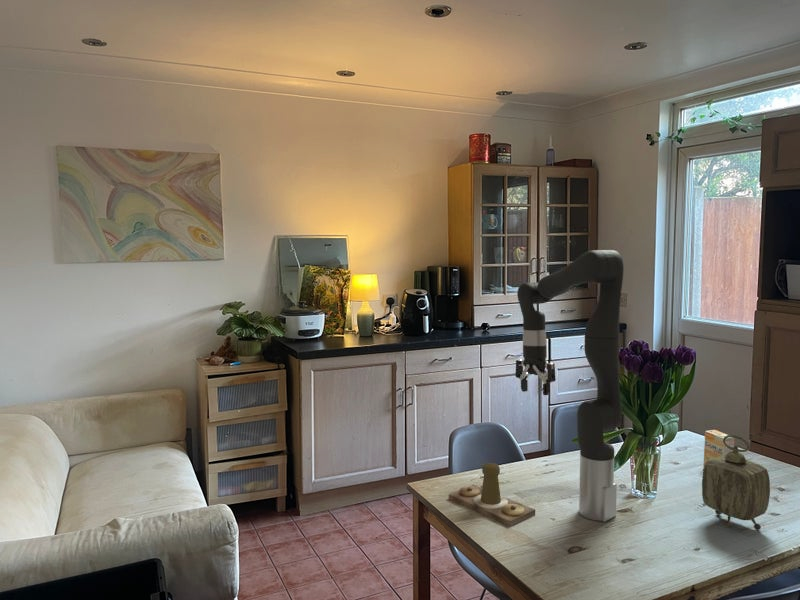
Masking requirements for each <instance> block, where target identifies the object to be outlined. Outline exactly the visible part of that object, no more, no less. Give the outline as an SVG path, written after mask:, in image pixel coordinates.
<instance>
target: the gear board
mask: <svg viewBox="0 0 800 600" xmlns="http://www.w3.org/2000/svg"><path fill="white" fill-rule="evenodd" d="M481 493H482V487H481V486H478V485H475V484H471V485H465V486H462V487H460V488H459V489H458V490H456V491H453V492H450V493H448V500H451V501H453V502H455V503H457V504H459V503H460V504H459V505H461V506H464V507H467V508H469V509H470V510H473V511H475V512H478V513H479V514H481V515H484V516H486V517H488V518H490V519H493V520H495V521H497V522H499V523H502V524H504V525H505V526H509V527H512V526H514V525H516V524H519V523H521V522H523V521H525V520H527V519H529V518H532V517H533V516H536V509H534V508H533V507H530V506H527V505H525V504H523V503H520V502H517V501H516V500H513V499H510V498H507V497H505V496H504V495H501V494H500V496H501V502H500V503H499V504H495V505H489V504H485V503H483V502H481Z"/></svg>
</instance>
